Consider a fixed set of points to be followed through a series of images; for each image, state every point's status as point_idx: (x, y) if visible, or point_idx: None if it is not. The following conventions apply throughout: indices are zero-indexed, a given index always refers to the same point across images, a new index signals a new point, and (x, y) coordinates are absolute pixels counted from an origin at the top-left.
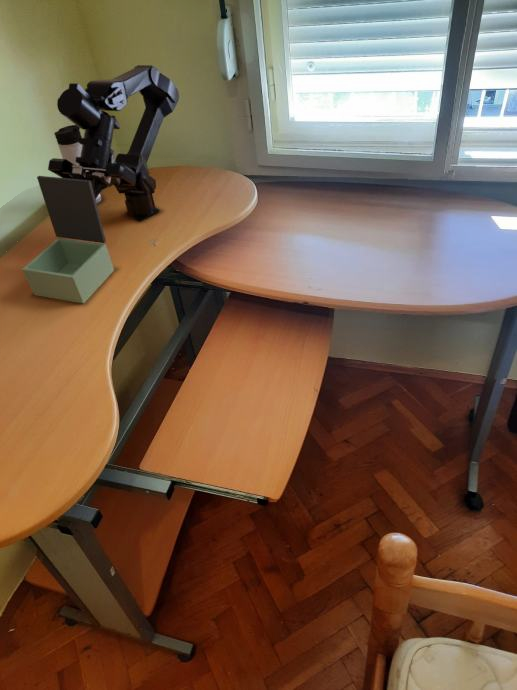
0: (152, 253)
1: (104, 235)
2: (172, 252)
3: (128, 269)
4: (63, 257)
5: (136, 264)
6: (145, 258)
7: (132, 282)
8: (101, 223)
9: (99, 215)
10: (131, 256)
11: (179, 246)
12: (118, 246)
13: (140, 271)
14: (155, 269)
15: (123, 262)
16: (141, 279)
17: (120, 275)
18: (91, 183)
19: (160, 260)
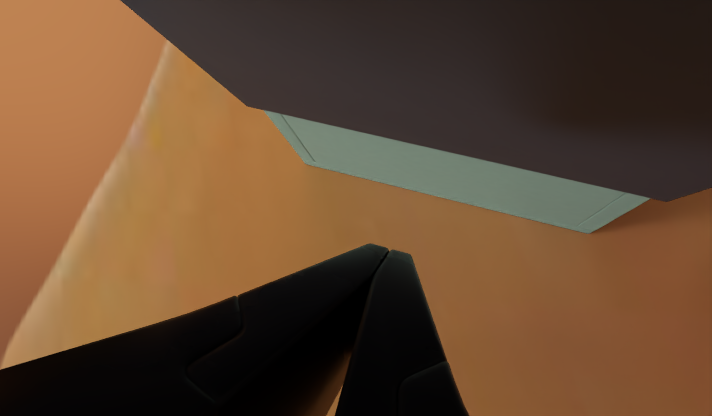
0: (137, 306)
1: (227, 88)
2: (41, 309)
3: (237, 169)
4: None
5: (205, 210)
6: (168, 261)
7: (203, 73)
8: (177, 47)
9: (131, 8)
10: (242, 284)
11: (8, 365)
12: (336, 398)
13: (179, 152)
14: (113, 167)
15: (273, 230)
16: (167, 94)
17: (266, 122)
18: (34, 365)
19: (95, 240)
